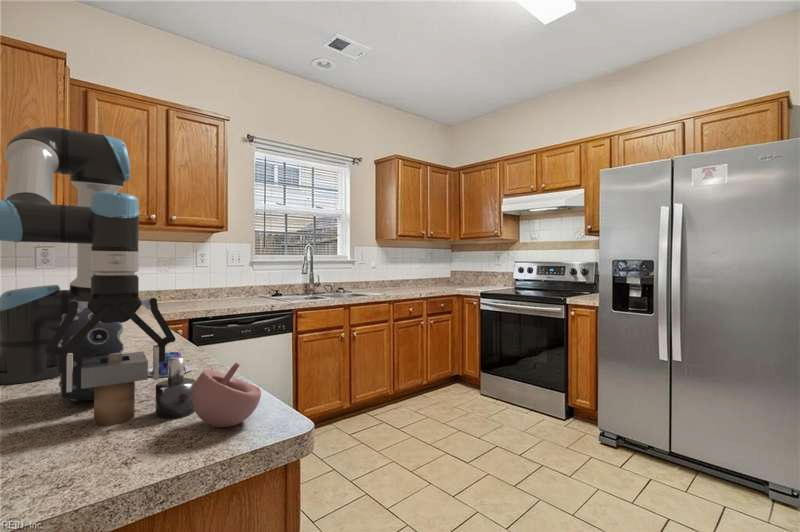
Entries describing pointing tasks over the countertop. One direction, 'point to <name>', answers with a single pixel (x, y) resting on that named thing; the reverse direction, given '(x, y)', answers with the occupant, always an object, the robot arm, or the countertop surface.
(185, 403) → the dark bottle with stopper
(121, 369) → the square hole block
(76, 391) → the dark grey piece
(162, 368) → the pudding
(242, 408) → the mortar and pestle
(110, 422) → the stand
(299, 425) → the countertop surface
